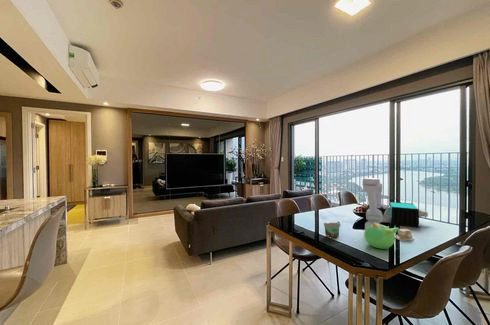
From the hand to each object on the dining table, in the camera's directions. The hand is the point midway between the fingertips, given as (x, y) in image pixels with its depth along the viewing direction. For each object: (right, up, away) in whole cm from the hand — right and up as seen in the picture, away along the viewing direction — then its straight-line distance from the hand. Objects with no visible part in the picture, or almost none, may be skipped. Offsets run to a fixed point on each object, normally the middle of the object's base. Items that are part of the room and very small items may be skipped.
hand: (377, 215), depth 168 cm
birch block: (+5, -10, -22) cm, 24 cm away
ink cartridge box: (+18, -10, +19) cm, 28 cm away
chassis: (+5, -11, -22) cm, 25 cm away
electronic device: (+35, -10, +14) cm, 39 cm away
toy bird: (-20, -11, -35) cm, 42 cm away
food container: (-41, -11, -17) cm, 46 cm away
